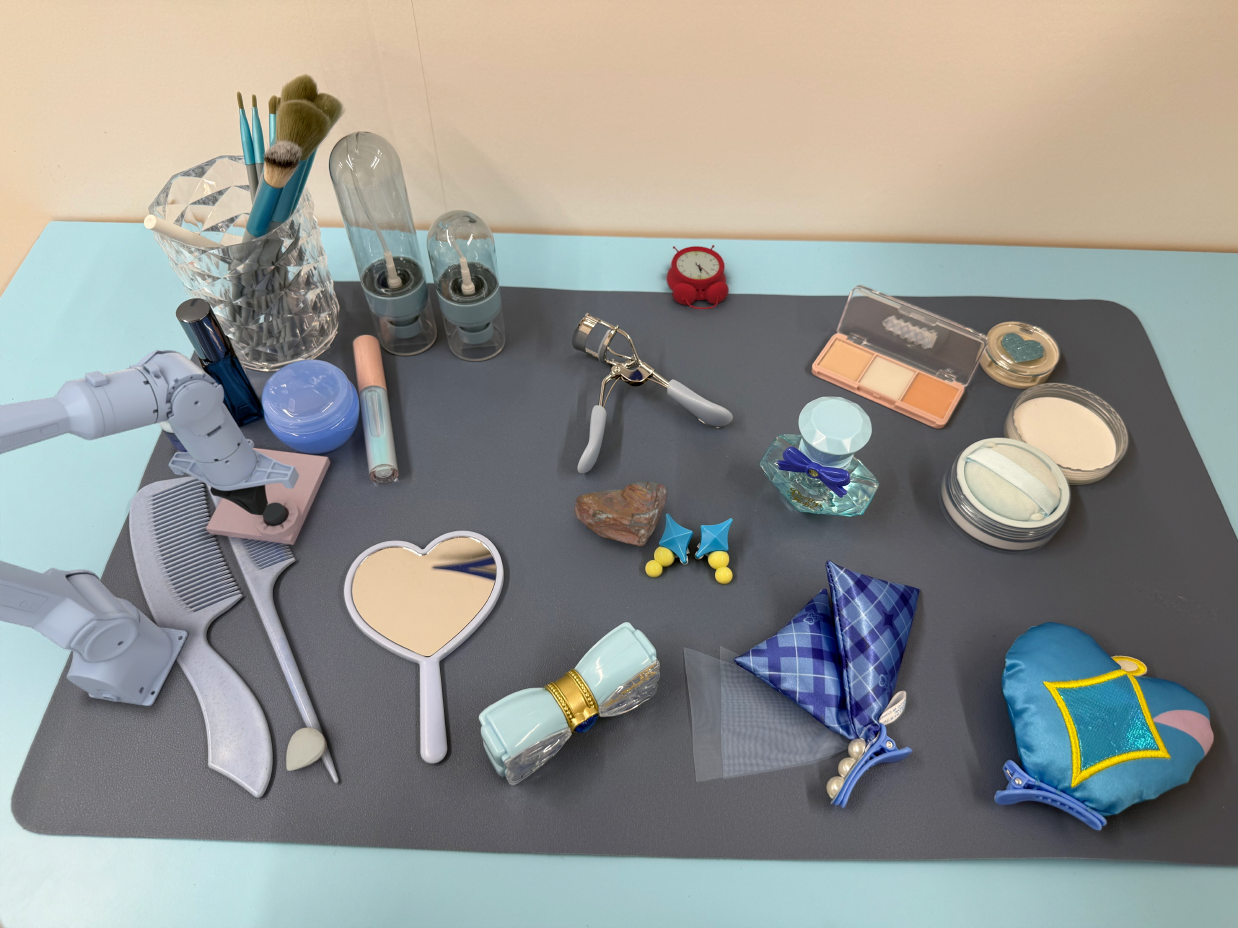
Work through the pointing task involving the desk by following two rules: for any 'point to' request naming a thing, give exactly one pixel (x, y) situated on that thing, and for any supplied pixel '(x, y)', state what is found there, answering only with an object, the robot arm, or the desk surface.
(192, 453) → the robot arm
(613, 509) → the stone
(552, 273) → the desk surface
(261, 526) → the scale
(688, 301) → the alarm clock
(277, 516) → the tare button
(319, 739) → the beige teardrop
